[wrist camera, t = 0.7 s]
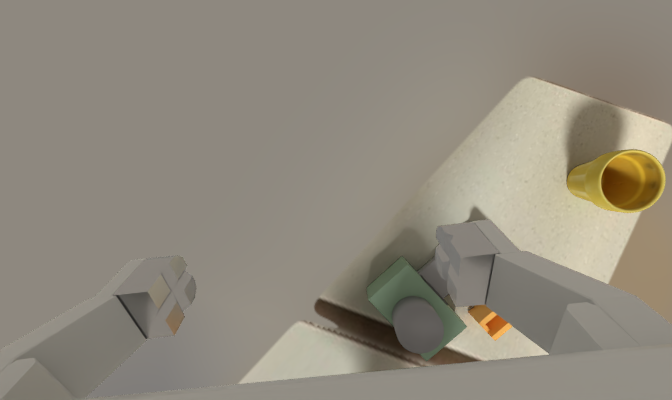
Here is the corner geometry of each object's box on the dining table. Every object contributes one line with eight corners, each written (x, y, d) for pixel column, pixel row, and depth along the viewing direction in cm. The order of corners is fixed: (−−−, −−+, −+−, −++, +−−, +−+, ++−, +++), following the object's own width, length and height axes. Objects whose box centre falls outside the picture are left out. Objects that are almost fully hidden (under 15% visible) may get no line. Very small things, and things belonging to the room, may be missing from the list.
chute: (527, 289, 57) (544, 299, 52) (482, 327, 58) (495, 340, 53) (512, 272, 57) (527, 281, 52) (467, 311, 58) (478, 323, 53)
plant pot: (552, 204, 56) (595, 209, 46) (560, 152, 55) (605, 146, 46) (606, 210, 56) (661, 216, 46) (614, 157, 55) (672, 152, 45)
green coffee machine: (511, 263, 57) (550, 282, 46) (418, 343, 59) (434, 379, 48) (458, 205, 57) (483, 211, 46) (366, 287, 59) (370, 311, 48)
